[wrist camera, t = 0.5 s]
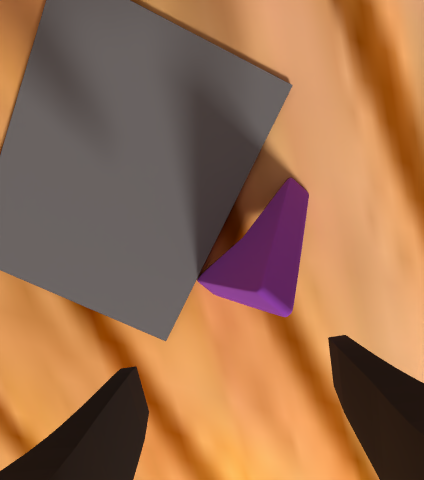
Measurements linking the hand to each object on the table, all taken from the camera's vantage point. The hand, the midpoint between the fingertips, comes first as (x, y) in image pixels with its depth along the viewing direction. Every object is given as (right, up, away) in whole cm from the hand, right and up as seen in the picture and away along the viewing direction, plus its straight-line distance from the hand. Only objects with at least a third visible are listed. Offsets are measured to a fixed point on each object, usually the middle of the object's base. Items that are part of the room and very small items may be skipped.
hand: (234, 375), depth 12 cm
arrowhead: (+2, +5, +9) cm, 11 cm away
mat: (-6, +9, +8) cm, 14 cm away
